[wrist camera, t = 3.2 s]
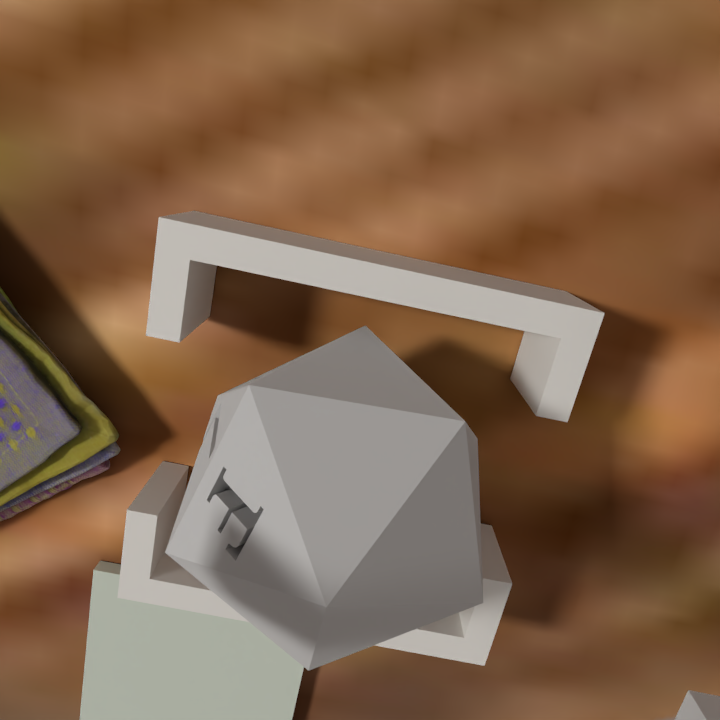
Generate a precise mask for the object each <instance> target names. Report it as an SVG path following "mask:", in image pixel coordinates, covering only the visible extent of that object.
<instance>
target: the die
mask: <svg viewBox="0 0 720 720" xmlns="http://www.w3.org/2000/svg"><path fill="white" fill-rule="evenodd" d="M203 441H204V442H203V444H202V446H201V448H200V450H199V453H198V456H197V459H196V462H195V465H194V468H193V471H192V474H191V477H190V480H189V483H188V486H187V489H186V492H185V495H184V498H183V501H182V504H181V506H180V509H179V512H178V515H177V518H176V521H175V524H174V527H173V530H172V533H171V536H170V539H169V542H168V545H167V548H166V551H165V553H166V554H167V555H168V556H170V557H171V558H172V559H173V560H174V561H176V562H177V563H178V564H179V565H181V566H182V567H183V568H184V569H185V570H187V571H188V572H189V573H190V574H192V575H193V576H194V577H195V578H196V579H198V580H199V581H200V582H201V583H202V584H204V585H205V586H206V587H207V588H209V589H210V590H211V591H212V592H213V593H215V594H216V595H217V596H218V597H220V598H221V599H222V600H223V601H224V602H226V603H227V604H228V605H229V606H230V607H232V608H233V609H234V610H235V611H237V612H238V613H239V614H240V615H241V616H243V617H244V618H245V619H246V620H247V621H249V622H250V623H251V624H252V625H254V626H255V627H256V628H257V629H258V630H260V631H261V632H262V633H263V634H265V635H266V636H267V637H268V638H269V639H271V640H272V641H273V642H274V643H275V644H277V645H278V646H279V647H280V648H282V649H283V650H284V651H285V652H286V653H288V654H289V655H290V656H291V657H292V658H294V659H295V660H296V661H297V662H299V663H300V664H301V665H302V666H303V667H305V668H306V669H307V670H308V671H309V670H312V669H314V668H317V667H319V666H322V665H325V664H327V663H330V662H332V661H335V660H337V659H340V658H343V657H345V656H348V655H350V654H353V653H355V652H358V651H361V650H363V649H366V648H368V647H371V646H373V645H376V644H379V643H381V642H384V641H386V640H389V639H391V638H394V637H397V636H399V635H402V634H404V633H407V632H409V631H412V630H415V629H417V628H420V627H422V626H425V625H428V624H430V623H433V622H435V621H438V620H440V619H443V618H446V617H448V616H451V615H453V614H456V613H458V612H461V611H464V610H466V609H469V608H471V607H474V606H476V605H479V604H482V603H483V578H482V549H481V521H480V492H479V463H478V439H477V437H476V436H475V434H474V433H473V432H472V430H471V429H470V427H469V426H468V424H467V423H466V422H465V421H464V420H463V419H462V418H461V417H460V416H459V415H458V414H457V413H456V412H455V411H454V410H453V409H452V408H451V407H450V406H449V405H448V404H447V403H446V402H445V401H444V400H443V399H441V398H440V397H439V396H438V395H437V394H436V393H435V392H434V391H433V390H432V389H431V388H430V387H429V386H428V385H427V384H426V383H425V382H424V381H423V380H422V379H421V378H420V377H419V376H417V375H416V374H415V373H414V372H413V371H412V370H411V369H410V368H409V367H408V366H407V365H406V364H405V363H404V362H403V361H402V360H401V359H400V358H399V357H398V356H397V355H396V354H395V353H393V352H392V351H391V350H390V349H389V348H388V347H387V346H386V345H385V344H384V343H383V342H382V341H381V340H380V339H379V338H378V337H377V336H376V335H375V334H374V333H373V332H372V331H371V330H369V329H368V328H367V327H366V326H363V327H361V328H359V329H357V330H355V331H353V332H351V333H349V334H347V335H344V336H342V337H340V338H338V339H336V340H334V341H332V342H330V343H328V344H325V345H323V346H321V347H319V348H317V349H315V350H313V351H311V352H309V353H306V354H304V355H302V356H300V357H298V358H296V359H294V360H292V361H290V362H287V363H285V364H283V365H281V366H279V367H277V368H275V369H273V370H271V371H269V372H266V373H264V374H262V375H260V376H258V377H256V378H254V379H252V380H250V381H247V382H245V383H243V384H241V385H239V386H237V387H235V388H233V389H231V390H228V391H226V392H224V393H222V394H220V395H218V397H217V400H216V403H215V405H214V408H213V411H212V414H211V417H210V420H209V423H208V426H207V429H206V432H205V435H204V438H203Z"/></svg>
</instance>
